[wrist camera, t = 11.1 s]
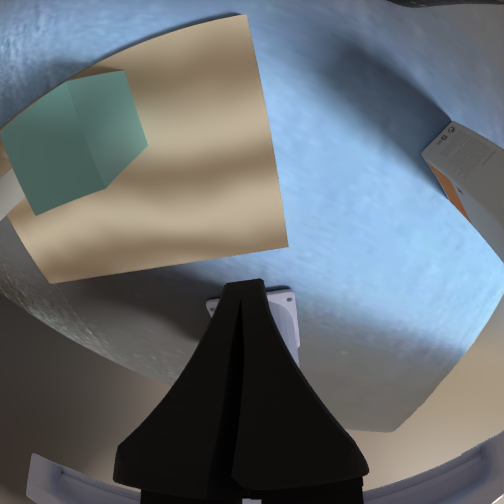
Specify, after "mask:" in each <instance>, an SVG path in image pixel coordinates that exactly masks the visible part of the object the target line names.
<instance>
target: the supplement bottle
mask: <svg viewBox="0 0 504 504" xmlns="http://www.w3.org/2000/svg"><path fill="white" fill-rule="evenodd" d="M388 1H390V2H392V3H395V4H398V5H401V6H405V7H411V8H420V7H431V6H441V5H455V4H498V5H504V0H388Z"/></svg>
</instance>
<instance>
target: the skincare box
mask: <svg viewBox="0 0 504 504" xmlns="http://www.w3.org/2000/svg"><path fill="white" fill-rule="evenodd" d="M421 156H422V157H423V158H424V160H425V161H426V163H427V164H428V165H429V167H430V169H431V170H432V172H433V173H434V175H435V176H436V178H437V179H438V181H439V183H440V185H441V187H442V188H443V190H444V192H445V194H446V196H447V198H448V200H449V201H450V202H451V203H452V204H453V205H454V206H455V207H456V208H457V209H458V210H459V211H460V212H461V214H462V215H463V216H464V217H465V218H466V219H467V220H468V221H469V222H470V223H471V224H472V225H473V227H474V228H475V229H476V230H477V231H478V232H479V233H480V235H481V236H482V237H483V238H484V239H485V240H486V242H487V243H488V244H489V245H490V247H491V248H492V249H493V250H494V251H495V253H496V254H497V255H498V256H499V258H500V259H501V260H502V262H503V263H504V149H502V148H501V147H499V146H498V145H496V144H495V143H493V142H491V141H490V140H488V139H486V138H485V137H483V136H481V135H479V134H478V133H476V132H474V131H472V130H470V129H468V128H467V127H465V126H463V125H461V124H459V123H457V122H455V121H452V122H451V123H450V124H449V125H448V126H447V127H446V128H445V129H444V130H443V131H442V132H441V133H440V134H439V135H438V136H437V137H436V138H435V139H434V140H433V141H432V142H431V143H430V144H429V145H428V146H427V147H426V148H425V149H424V150H423V151H422V152H421Z"/></svg>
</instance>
